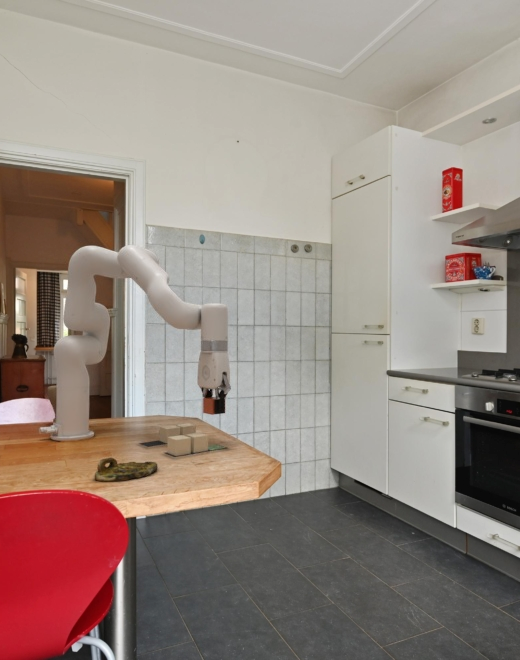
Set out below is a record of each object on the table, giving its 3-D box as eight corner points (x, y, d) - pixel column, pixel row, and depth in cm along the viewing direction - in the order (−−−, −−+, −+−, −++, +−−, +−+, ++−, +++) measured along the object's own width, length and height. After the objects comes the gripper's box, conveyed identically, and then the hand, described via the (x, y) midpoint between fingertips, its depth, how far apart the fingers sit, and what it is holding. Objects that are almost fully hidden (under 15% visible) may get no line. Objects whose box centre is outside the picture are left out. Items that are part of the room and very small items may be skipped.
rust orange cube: (211, 414, 131) (212, 399, 131) (203, 412, 135) (203, 397, 135) (225, 413, 134) (225, 398, 134) (216, 411, 137) (216, 396, 137)
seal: (145, 468, 117) (86, 480, 106) (144, 449, 117) (85, 458, 107) (167, 472, 110) (106, 484, 100) (166, 451, 111) (105, 461, 100)
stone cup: (45, 423, 172) (46, 381, 173) (80, 420, 178) (80, 380, 179) (49, 430, 159) (50, 385, 159) (87, 427, 165) (87, 383, 165)
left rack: (147, 448, 134) (148, 431, 134) (138, 444, 139) (138, 428, 139) (199, 440, 145) (199, 425, 145) (189, 437, 150) (189, 422, 150)
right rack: (174, 458, 123) (174, 440, 123) (163, 454, 127) (163, 436, 128) (228, 449, 134) (228, 432, 134) (216, 445, 138) (216, 429, 138)
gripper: (187, 347, 139) (186, 410, 138) (220, 347, 126) (220, 417, 125) (208, 347, 144) (208, 408, 143) (243, 347, 131) (243, 414, 130)
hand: (214, 411), depth 134 cm, fingers closed on rust orange cube, 4 cm apart
